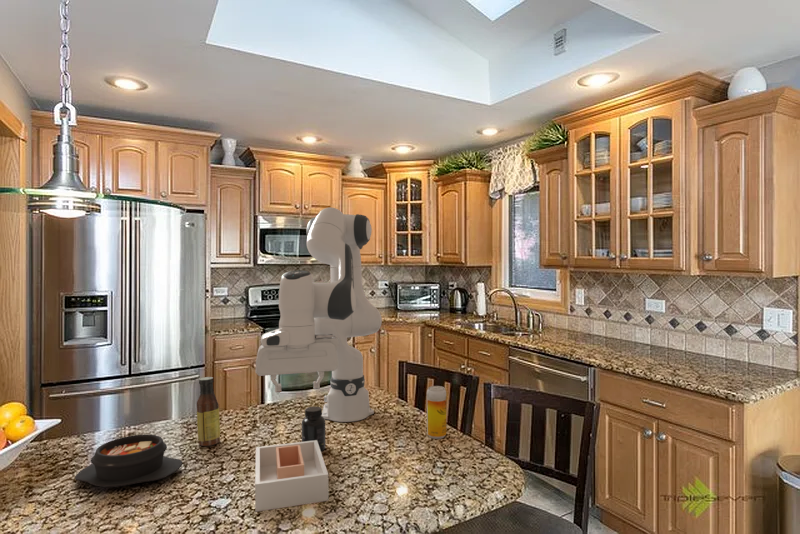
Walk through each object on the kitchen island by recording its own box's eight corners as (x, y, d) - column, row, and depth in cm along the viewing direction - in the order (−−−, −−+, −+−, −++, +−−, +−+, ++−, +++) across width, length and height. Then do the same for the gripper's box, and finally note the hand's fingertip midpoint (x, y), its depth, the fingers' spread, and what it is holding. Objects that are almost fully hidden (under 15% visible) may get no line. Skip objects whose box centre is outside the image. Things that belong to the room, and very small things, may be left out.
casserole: (55, 494, 112) (55, 459, 112) (105, 461, 131) (105, 431, 131) (159, 494, 112) (159, 459, 112) (195, 461, 130) (194, 431, 130)
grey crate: (256, 469, 124) (255, 447, 124) (317, 461, 129) (317, 440, 129) (255, 511, 103) (255, 484, 103) (328, 500, 108) (328, 474, 108)
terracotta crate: (276, 470, 121) (276, 447, 121) (300, 467, 123) (299, 444, 123) (278, 494, 109) (277, 468, 109) (304, 490, 111) (304, 464, 111)
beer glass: (447, 439, 144) (446, 390, 144) (427, 439, 144) (426, 390, 144) (445, 432, 150) (445, 385, 150) (426, 432, 150) (426, 385, 150)
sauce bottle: (223, 439, 146) (223, 375, 146) (214, 447, 140) (213, 380, 140) (203, 439, 147) (202, 375, 147) (193, 446, 141) (192, 380, 140)
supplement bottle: (296, 451, 136) (296, 410, 136) (311, 443, 142) (311, 404, 142) (315, 456, 133) (315, 413, 133) (330, 447, 139) (329, 407, 139)
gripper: (336, 331, 124) (337, 383, 125) (255, 335, 118) (256, 389, 119) (340, 335, 118) (340, 390, 118) (254, 339, 112) (255, 397, 113)
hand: (297, 390), depth 119 cm, fingers open, 8 cm apart
